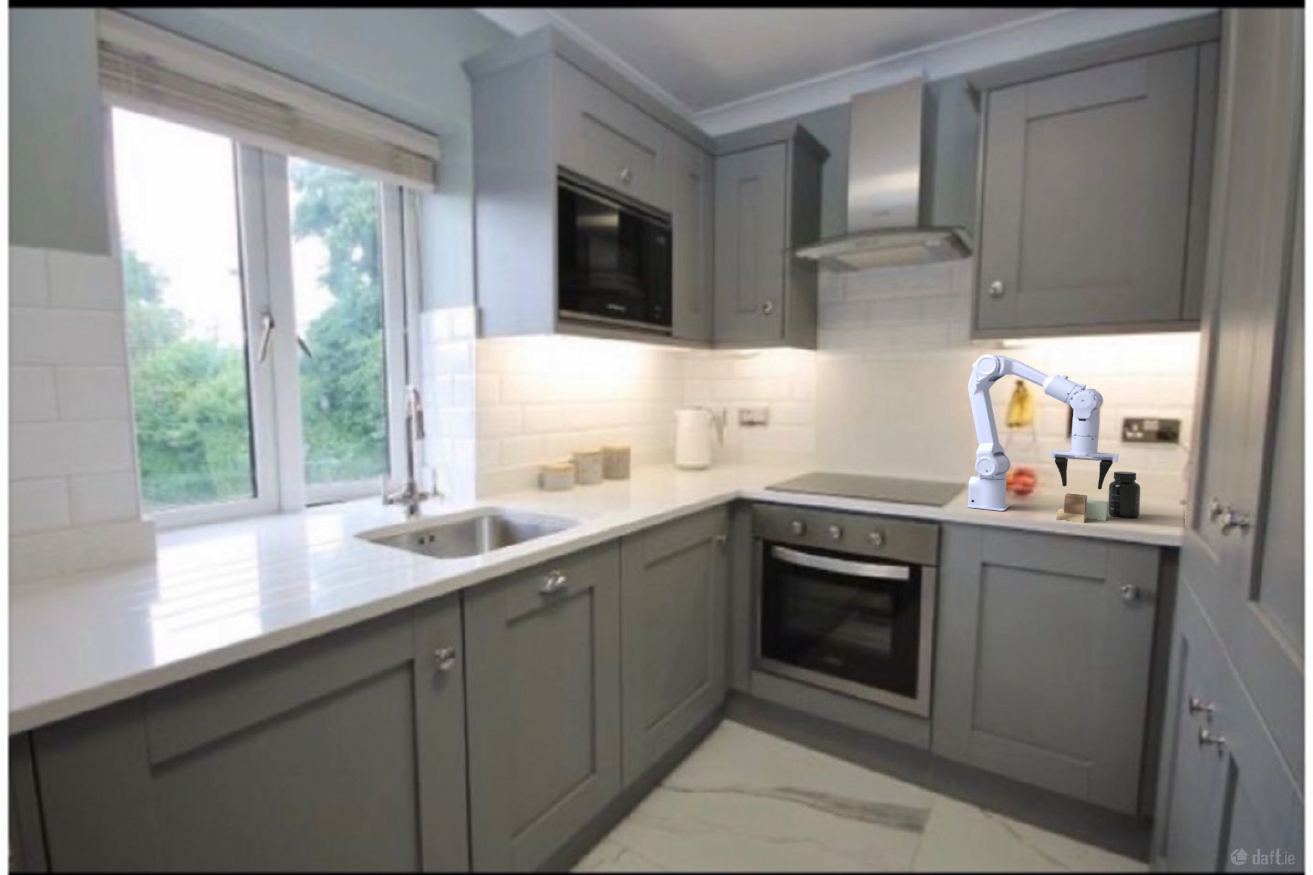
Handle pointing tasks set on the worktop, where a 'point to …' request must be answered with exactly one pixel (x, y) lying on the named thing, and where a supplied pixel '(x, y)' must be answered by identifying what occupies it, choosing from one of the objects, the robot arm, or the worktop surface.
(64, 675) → the worktop surface
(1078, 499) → the walnut cube
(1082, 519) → the oak slab
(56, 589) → the worktop surface
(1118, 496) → the supplement bottle
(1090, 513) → the sage cube
